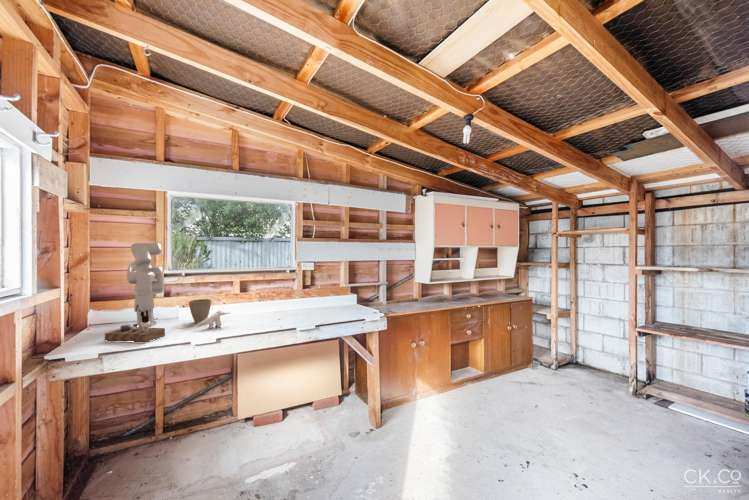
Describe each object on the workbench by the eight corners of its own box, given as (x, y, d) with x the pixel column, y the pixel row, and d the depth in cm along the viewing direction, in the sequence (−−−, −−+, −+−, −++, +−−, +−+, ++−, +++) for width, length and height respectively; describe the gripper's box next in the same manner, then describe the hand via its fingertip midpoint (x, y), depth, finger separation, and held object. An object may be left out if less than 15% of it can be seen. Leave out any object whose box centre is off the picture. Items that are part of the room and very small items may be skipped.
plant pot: (205, 324, 227) (204, 302, 227) (184, 324, 227) (184, 302, 226) (215, 319, 242) (215, 298, 241) (196, 319, 242) (195, 299, 241)
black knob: (125, 336, 198) (125, 324, 198) (132, 336, 197) (132, 324, 197) (118, 339, 193) (118, 326, 193) (125, 339, 193) (125, 326, 192)
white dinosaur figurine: (232, 324, 224) (230, 309, 222) (194, 334, 208) (192, 318, 207) (229, 322, 229) (227, 307, 228) (192, 331, 213) (190, 316, 212)
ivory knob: (145, 333, 196) (145, 320, 196) (152, 333, 195) (152, 321, 195) (138, 335, 191) (138, 322, 191) (145, 335, 191) (145, 323, 190)
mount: (105, 341, 189) (104, 333, 189) (126, 334, 203) (125, 327, 203) (146, 343, 186) (146, 334, 185) (164, 335, 199) (164, 328, 199)
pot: (135, 329, 196) (135, 323, 196) (139, 330, 196) (139, 323, 195) (131, 331, 193) (131, 324, 193) (135, 331, 193) (135, 325, 192)
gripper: (149, 290, 200) (150, 319, 201) (127, 294, 186) (128, 325, 186) (159, 290, 200) (160, 319, 200) (139, 294, 185) (140, 325, 185)
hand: (145, 322), depth 193 cm, fingers closed
